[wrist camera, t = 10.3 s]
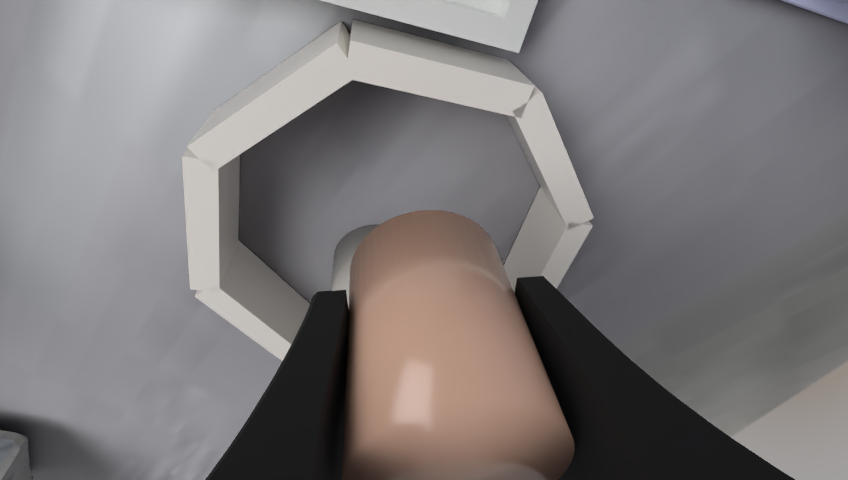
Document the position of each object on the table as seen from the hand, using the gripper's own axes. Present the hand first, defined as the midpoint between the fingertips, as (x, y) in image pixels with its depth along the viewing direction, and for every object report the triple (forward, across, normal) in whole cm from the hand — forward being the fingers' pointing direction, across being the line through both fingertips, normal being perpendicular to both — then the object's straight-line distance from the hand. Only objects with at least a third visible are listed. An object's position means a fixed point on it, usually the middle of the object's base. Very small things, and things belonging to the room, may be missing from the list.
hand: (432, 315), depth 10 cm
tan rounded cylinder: (+1, 0, 0) cm, 1 cm away
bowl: (+9, +1, +3) cm, 9 cm away
